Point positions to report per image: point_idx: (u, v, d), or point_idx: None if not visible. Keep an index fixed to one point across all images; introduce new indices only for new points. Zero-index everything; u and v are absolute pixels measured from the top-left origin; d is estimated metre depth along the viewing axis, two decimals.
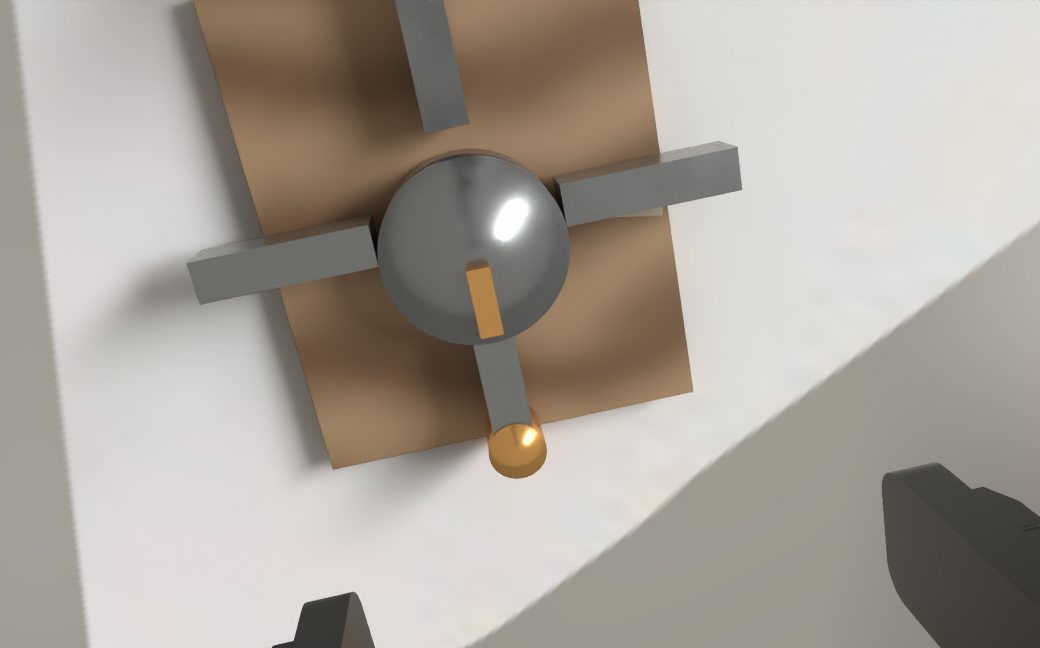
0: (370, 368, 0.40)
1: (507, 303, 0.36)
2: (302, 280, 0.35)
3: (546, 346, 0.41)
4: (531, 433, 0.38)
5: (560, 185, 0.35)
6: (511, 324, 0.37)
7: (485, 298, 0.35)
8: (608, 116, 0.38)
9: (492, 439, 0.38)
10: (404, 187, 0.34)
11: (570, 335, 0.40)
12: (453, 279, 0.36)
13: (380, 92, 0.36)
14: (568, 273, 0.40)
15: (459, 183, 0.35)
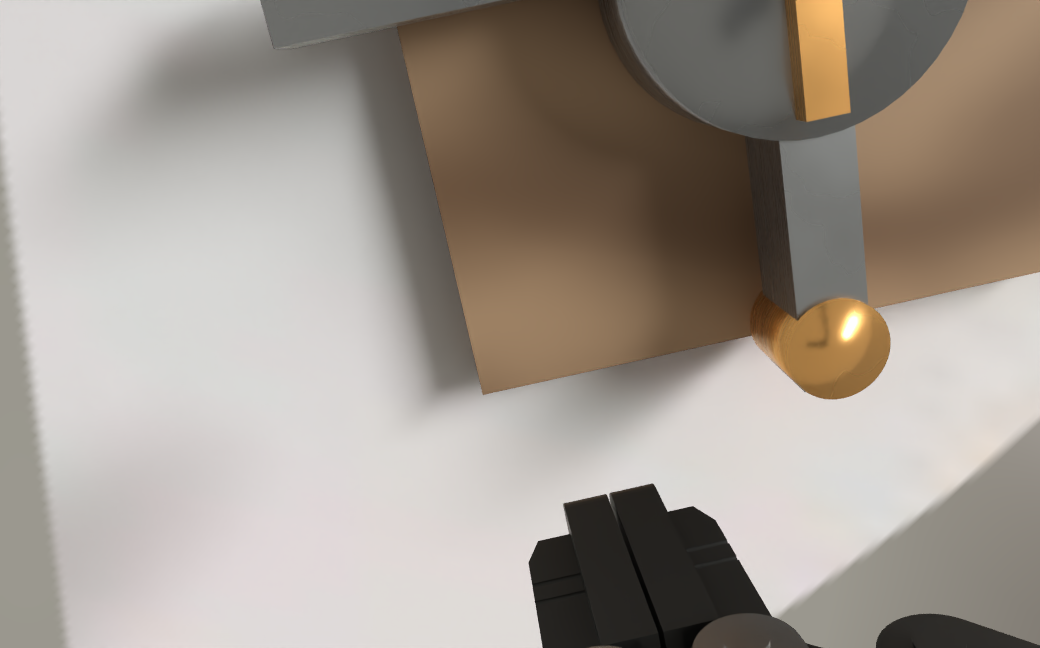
0: (556, 213, 0.23)
1: (852, 56, 0.19)
2: (471, 1, 0.18)
3: None
4: (868, 314, 0.21)
5: None
6: (855, 100, 0.19)
7: (824, 36, 0.18)
8: None
9: (795, 326, 0.21)
10: None
11: (900, 156, 0.23)
12: (758, 4, 0.19)
13: None
14: None
15: None
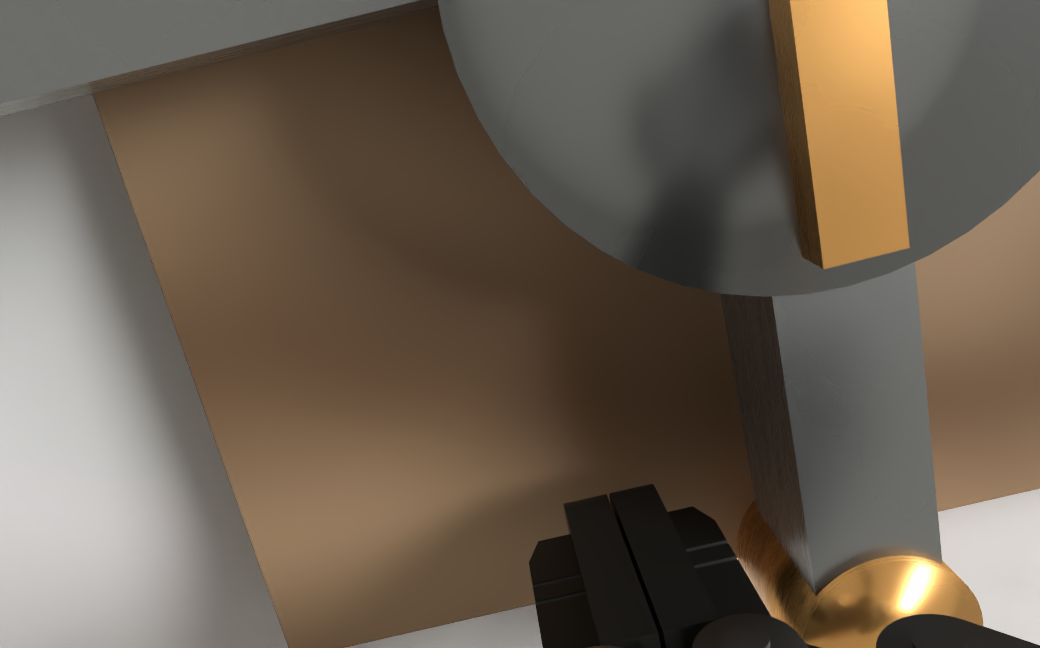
0: (394, 381, 0.14)
1: (909, 136, 0.10)
2: (140, 58, 0.09)
3: None
4: (943, 584, 0.12)
5: None
6: (914, 216, 0.10)
7: (855, 105, 0.09)
8: None
9: (812, 606, 0.12)
10: None
11: (969, 280, 0.14)
12: (720, 42, 0.09)
13: None
14: None
15: None
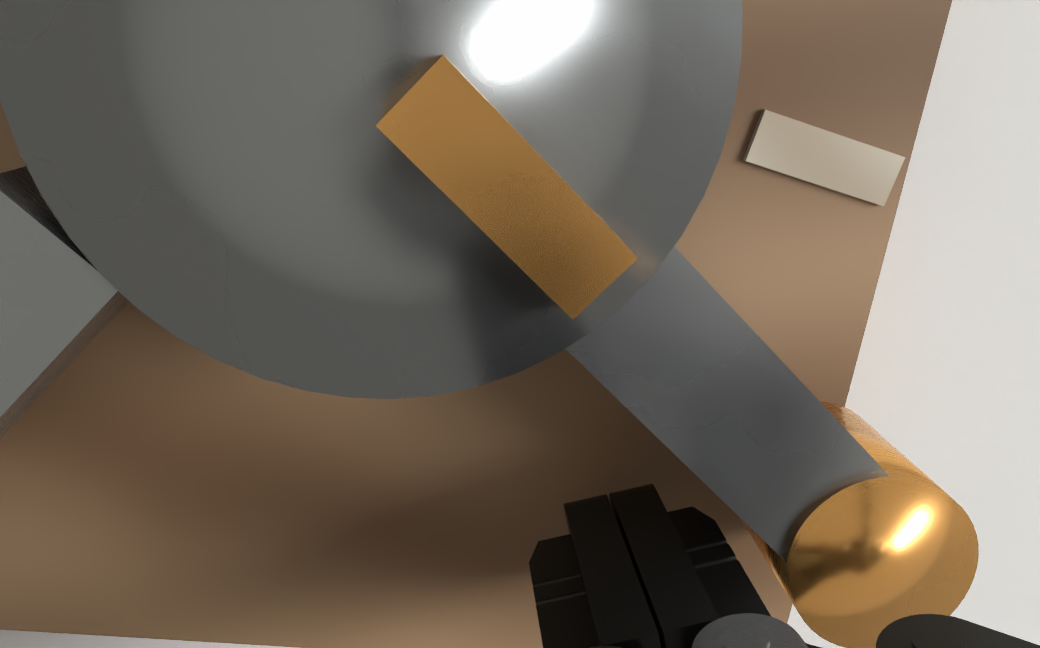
0: None
1: (589, 153, 0.10)
2: None
3: (445, 460, 0.14)
4: (898, 496, 0.11)
5: None
6: (643, 213, 0.10)
7: (501, 177, 0.09)
8: None
9: (787, 573, 0.12)
10: None
11: (519, 450, 0.14)
12: (368, 183, 0.10)
13: None
14: None
15: None
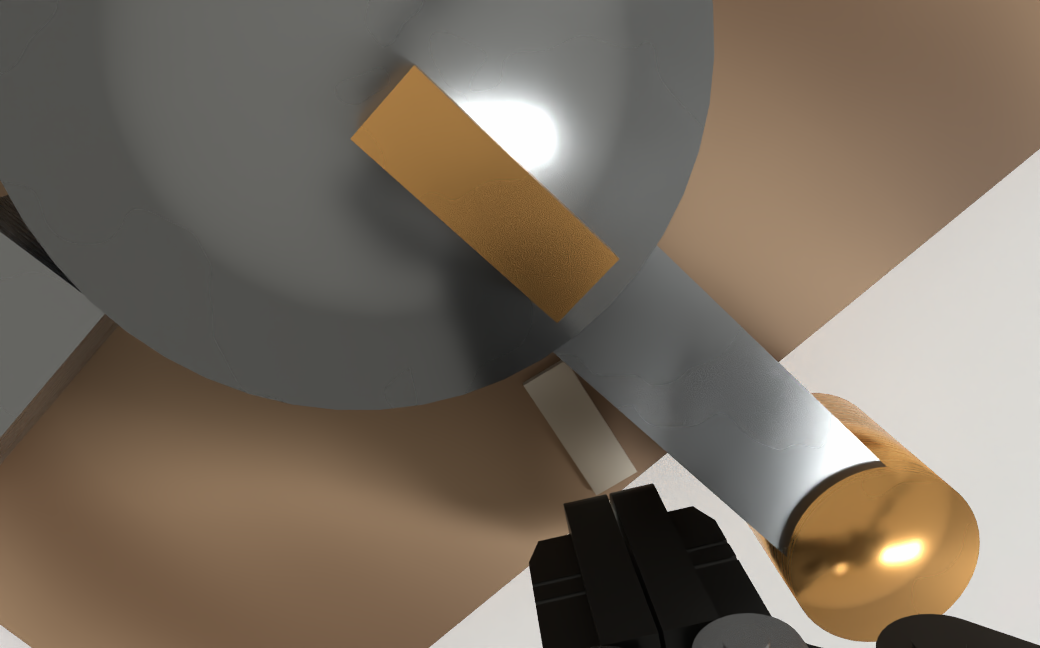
0: None
1: (566, 156, 0.10)
2: None
3: (100, 433, 0.14)
4: (894, 485, 0.11)
5: None
6: (624, 213, 0.10)
7: (478, 184, 0.09)
8: (756, 231, 0.14)
9: (788, 568, 0.12)
10: None
11: (172, 471, 0.14)
12: (347, 195, 0.10)
13: None
14: None
15: None
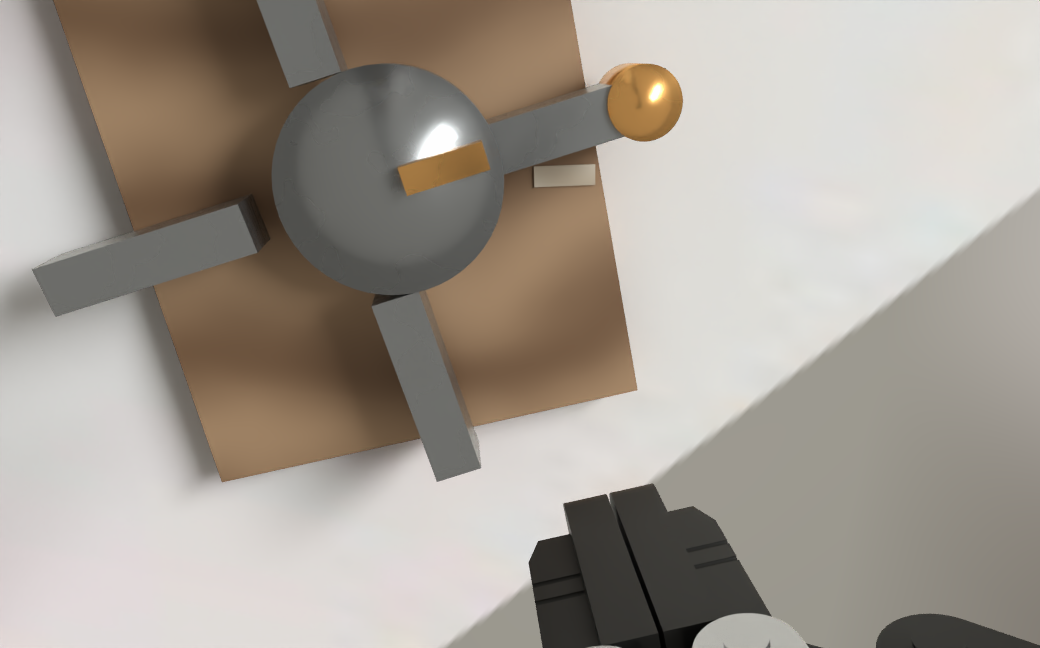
0: (260, 365, 0.35)
1: (446, 137, 0.29)
2: (443, 370, 0.32)
3: (464, 338, 0.35)
4: (618, 87, 0.29)
5: (290, 86, 0.29)
6: (473, 129, 0.29)
7: (437, 169, 0.29)
8: (527, 68, 0.32)
9: None
10: (322, 270, 0.30)
11: (492, 325, 0.35)
12: (423, 206, 0.30)
13: (257, 40, 0.31)
14: (487, 253, 0.34)
15: (307, 210, 0.30)
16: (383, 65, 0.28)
